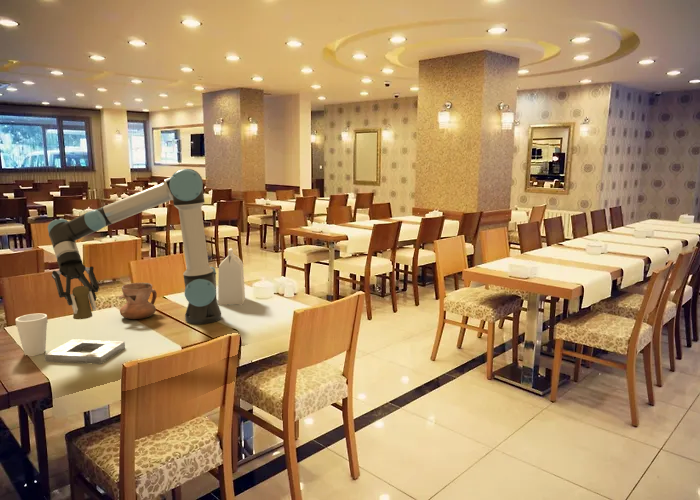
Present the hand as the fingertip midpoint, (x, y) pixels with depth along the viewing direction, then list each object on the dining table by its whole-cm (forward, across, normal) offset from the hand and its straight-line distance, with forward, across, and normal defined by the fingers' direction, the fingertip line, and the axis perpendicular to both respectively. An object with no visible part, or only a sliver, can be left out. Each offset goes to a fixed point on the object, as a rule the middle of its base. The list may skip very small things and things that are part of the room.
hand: (85, 310), depth 174 cm
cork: (0, 0, -5) cm, 5 cm away
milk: (-8, -73, -32) cm, 80 cm away
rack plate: (+11, +1, -12) cm, 16 cm away
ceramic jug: (-11, -30, -35) cm, 48 cm away
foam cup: (+1, +14, -22) cm, 26 cm away
